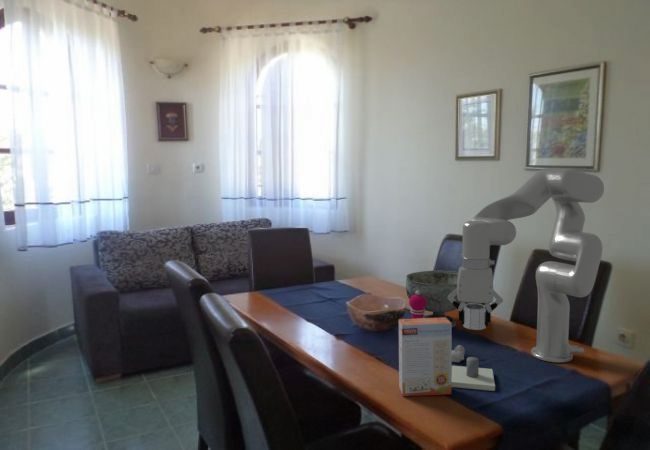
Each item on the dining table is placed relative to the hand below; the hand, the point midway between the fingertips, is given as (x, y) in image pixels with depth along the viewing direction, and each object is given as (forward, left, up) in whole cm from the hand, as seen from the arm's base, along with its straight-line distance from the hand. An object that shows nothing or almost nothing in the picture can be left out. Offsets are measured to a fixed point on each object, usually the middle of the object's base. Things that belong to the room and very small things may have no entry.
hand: (474, 323), depth 147 cm
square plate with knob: (0, 0, -18) cm, 18 cm away
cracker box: (+14, +10, -18) cm, 25 cm away
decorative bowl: (+12, -51, -18) cm, 55 cm away
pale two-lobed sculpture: (+4, -15, -18) cm, 24 cm away
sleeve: (0, 0, -1) cm, 1 cm away
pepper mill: (+18, -25, -18) cm, 36 cm away
